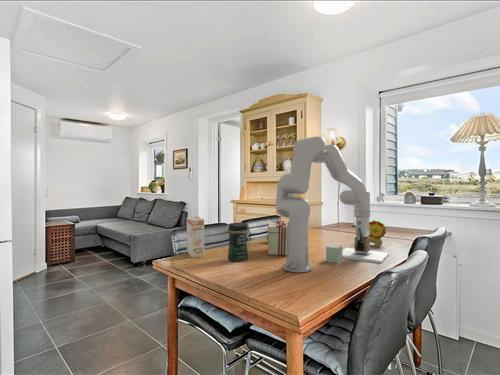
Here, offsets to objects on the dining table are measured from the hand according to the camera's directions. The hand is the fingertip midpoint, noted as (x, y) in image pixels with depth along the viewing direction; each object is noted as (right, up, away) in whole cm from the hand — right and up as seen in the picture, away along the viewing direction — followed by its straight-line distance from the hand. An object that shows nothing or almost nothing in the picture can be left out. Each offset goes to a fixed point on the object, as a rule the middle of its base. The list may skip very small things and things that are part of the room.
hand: (362, 248), depth 149 cm
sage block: (-17, -4, -8) cm, 19 cm away
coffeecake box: (-87, -5, +8) cm, 88 cm away
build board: (0, -4, 0) cm, 4 cm away
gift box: (-39, -4, +11) cm, 41 cm away
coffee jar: (-64, -5, -5) cm, 64 cm away
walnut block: (0, -1, 0) cm, 1 cm away
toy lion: (+16, -3, +26) cm, 30 cm away
